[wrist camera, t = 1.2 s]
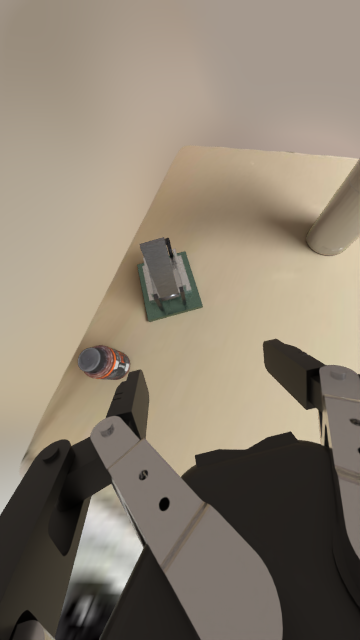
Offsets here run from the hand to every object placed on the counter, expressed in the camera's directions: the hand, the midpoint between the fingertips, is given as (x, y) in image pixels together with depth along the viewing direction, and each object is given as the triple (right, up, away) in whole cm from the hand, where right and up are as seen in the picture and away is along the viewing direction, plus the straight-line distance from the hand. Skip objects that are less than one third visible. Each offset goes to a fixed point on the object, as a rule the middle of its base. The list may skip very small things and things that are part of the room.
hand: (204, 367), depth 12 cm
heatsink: (-4, +12, +34) cm, 36 cm away
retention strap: (-4, +8, +27) cm, 28 cm away
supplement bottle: (-15, -7, +29) cm, 34 cm away
